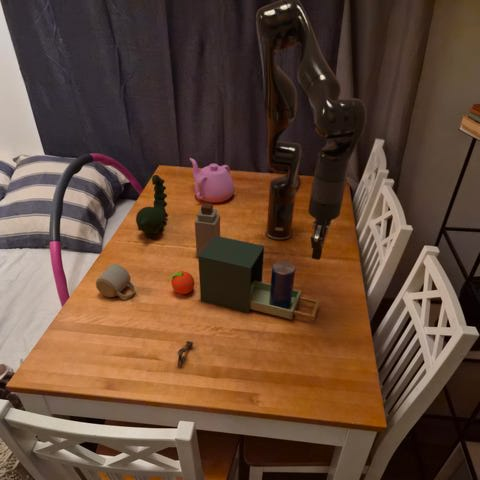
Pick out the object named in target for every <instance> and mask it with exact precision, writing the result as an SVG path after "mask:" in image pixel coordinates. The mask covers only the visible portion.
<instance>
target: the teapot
mask: <svg viewBox="0 0 480 480" xmlns="http://www.w3.org/2000/svg"><path fill="white" fill-rule="evenodd" d="M189 161H190V162H191V165H192V178H193V181H194V186H193V188H194V189H193V191H194V194H195V197H196V199H197V200H202V201H203V202H205V203H212V204H214V203H222V202H225V201H226V202H227V201H228V200H229V199H230V198H231V197H232V196H233V195H234V193H235V183H234V180H233V178H232V176H231V175H230V174H231V167H230V166H229V165H227V164H222V165H219V164H218V163H210V164H209V165H205V166H204V167H202V168H201V170H200V169H199V165H198V163H197V161H196V160H195V159H194V158H192V157H189Z"/></svg>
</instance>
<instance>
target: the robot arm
mask: <svg viewBox="0 0 480 480" xmlns="http://www.w3.org/2000/svg"><path fill="white" fill-rule="evenodd" d="M255 33H256V40H257V41H256V42H257V47H258V53H259V54H258V55H259V60H260V66H261V75H262V77H261V78H262V90H263V91H262V92H263V93H262V95H263V109H264V118H265V128H266V163H267V167H268V169H270V170H271V171H275V172H281V173H287V174H286V175H283V176H280V177H279V176H278V177H276V178H273V179H272V180H271V181H270V183H269V191H268V203H267V204H268V206H267V219H266V220H267V221H266V230H265V234H266V237H268V238H269V239H271V240H274V241H285V240H288V239H290V238H291V236H292V227H293V219H294V211H295V203H296V194H297V191H298V189H299V187H300V184H301V179H300V175H299V169H300V164H301V158H302V146H301V144H300V143H298V142H292V141H281V140H279V139H280V137H281V136H282V134H284V132H285V131H286V130H287V129H288V128H289V127H290V125H292V123H293V121H294V120H295V118H296V116H297V111H298V92H297V88H296V85H295V84H294V82H293V81H292V79H291V78H290V77H289V76H288V75H287V74H286V73H285V72H284V71H283V69H282V68H281V67H280V66H279V64H278V62H277V59H276V55H277V53H278V52H281V51H283V50H285V49H288V48H291V47H294V46H296V45H298V46H300V51H299V56H298V60H297V65H296V80H297V83H298V86H299V89H300V90H301V92H302V93H303V95H304V97H305V99H306V100H307V101H308V104H309V108H310V109H309V110H310V113H311V118H312V125H313V129H314V131H315V133H316V134H317V135H318V136H319V137H320V138H322V139H325V140H330V139H334V141H333V142H332V143H329V144H328V145H326V146H324V147H322V148H320V149H319V151H318V153H317V156H316V162H315V169H314V175H313V180H312V181H311V182H312V183H311V188H310V195H309V197H310V198H309V202H308V209H307V210H308V211H307V212H308V214H309V215H310V216H311V217H312V218H313V219H314V221H313V222H312V227H311V228H312V234H311V236H310V246H311V247H310V248H311V249H312V252H311V253H312V254H311V259H313V260H317V261H319V260H321V258H322V257H321V256H322V253H323V248H324V245H325V243H326V240H327V237H328V236H329V235H328V234H329V230H330V227H331V225H332V220H336V219H337V218H339V216H340V215H341V210H342V205H343V202H344V201H343V200H344V197H345V196H344V195H345V191H346V180H347V174H348V170H349V166H350V165H349V164H350V160H351V158H352V156H353V154H354V151H355V149H356V147H357V145H358V143H359V141H360V139H361V137H362V135H363V132H364V130H365V126H366V123H367V109H366V106H365V103H364V102H363V101H362V100H361V99H359V98H356V97H351V98H350V97H349V98H342V99H339V98H340V96H341V93H342V88H341V84H340V82H339V79H338V77H336V74H335V73H334V72H333V70H332V69H331V67H330V65H329V64H328V62H327V60H326V59H325V57H324V55H323V53H322V51H321V48H320V44H319V42H318V40H317V37H316V34H315V32H314V29H313V27H312V25H311V21H310V19H309V16H308V14H307V12H306V10H305V8H304V6H303V4H302V3H301V1H300V0H277V1H275V2H272V3H270V4H267V5H266V4H265V5H264V6H262V7H260V8H259V9H258V10H257V12H256V15H255Z"/></svg>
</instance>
